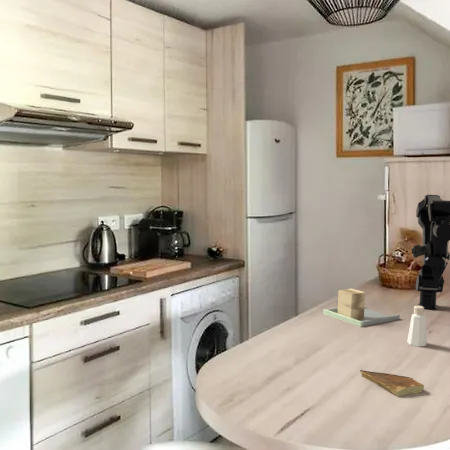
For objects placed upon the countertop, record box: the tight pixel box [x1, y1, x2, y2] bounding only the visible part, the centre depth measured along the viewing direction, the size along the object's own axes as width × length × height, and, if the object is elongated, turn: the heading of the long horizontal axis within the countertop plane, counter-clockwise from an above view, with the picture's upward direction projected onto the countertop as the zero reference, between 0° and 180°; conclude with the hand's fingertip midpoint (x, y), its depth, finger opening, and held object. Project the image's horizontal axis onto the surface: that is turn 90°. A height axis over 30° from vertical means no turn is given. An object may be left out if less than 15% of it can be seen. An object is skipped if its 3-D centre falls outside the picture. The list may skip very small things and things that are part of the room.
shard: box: [359, 369, 425, 398], centre depth 126 cm, size 13×9×2 cm
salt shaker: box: [406, 305, 428, 347], centre depth 154 cm, size 5×5×11 cm
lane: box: [322, 306, 401, 328], centre depth 178 cm, size 18×17×3 cm
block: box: [337, 288, 366, 321], centre depth 175 cm, size 6×6×9 cm
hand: (436, 283), depth 181 cm, fingers closed
